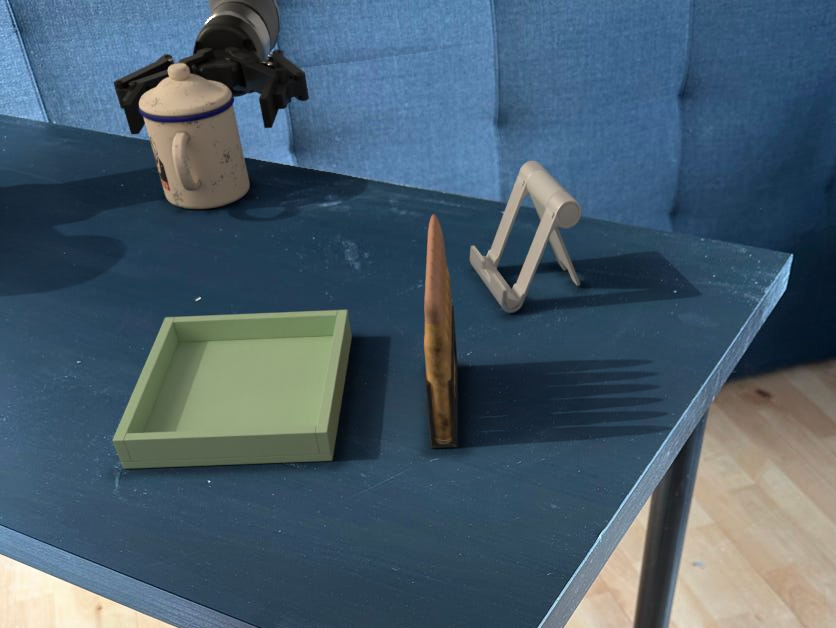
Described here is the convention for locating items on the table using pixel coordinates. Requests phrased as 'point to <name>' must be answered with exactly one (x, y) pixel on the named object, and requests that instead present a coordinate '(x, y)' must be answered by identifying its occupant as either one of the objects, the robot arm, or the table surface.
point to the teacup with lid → (195, 140)
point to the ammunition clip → (440, 345)
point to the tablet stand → (553, 213)
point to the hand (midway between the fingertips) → (197, 116)
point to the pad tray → (238, 391)
